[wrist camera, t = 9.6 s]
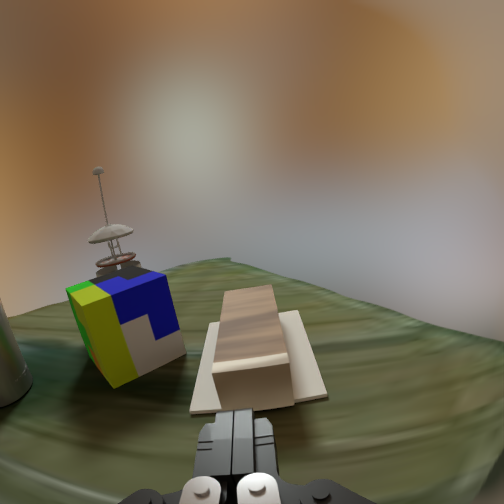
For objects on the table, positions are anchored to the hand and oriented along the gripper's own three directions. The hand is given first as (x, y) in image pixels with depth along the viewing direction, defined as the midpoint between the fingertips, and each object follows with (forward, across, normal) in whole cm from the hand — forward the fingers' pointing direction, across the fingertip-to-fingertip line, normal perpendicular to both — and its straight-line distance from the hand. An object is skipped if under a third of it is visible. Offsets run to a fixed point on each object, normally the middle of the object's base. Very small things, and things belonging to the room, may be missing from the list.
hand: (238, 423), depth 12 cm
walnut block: (+10, 0, +6) cm, 12 cm away
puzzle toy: (+23, +15, +9) cm, 29 cm away
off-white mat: (+20, 0, +9) cm, 22 cm away
